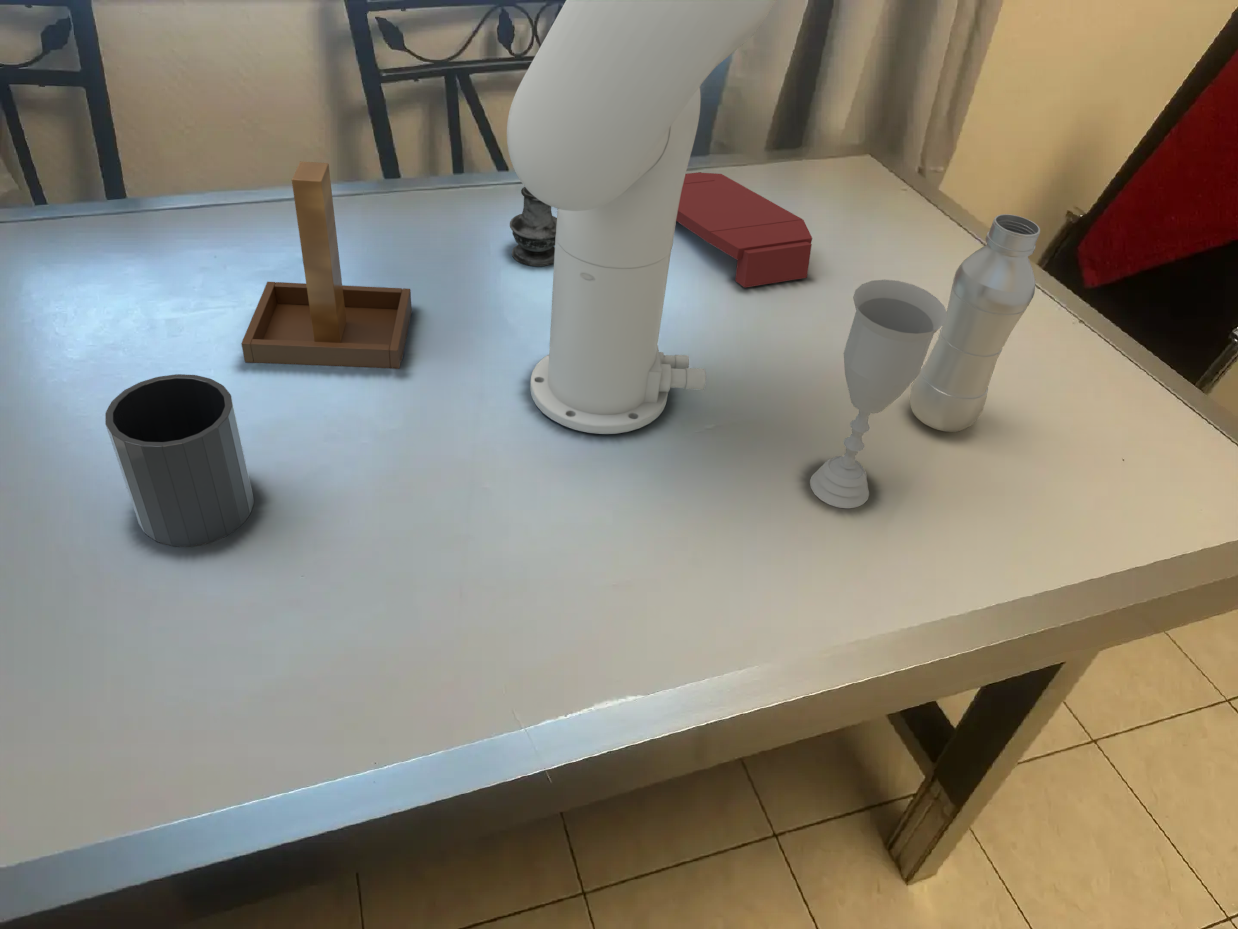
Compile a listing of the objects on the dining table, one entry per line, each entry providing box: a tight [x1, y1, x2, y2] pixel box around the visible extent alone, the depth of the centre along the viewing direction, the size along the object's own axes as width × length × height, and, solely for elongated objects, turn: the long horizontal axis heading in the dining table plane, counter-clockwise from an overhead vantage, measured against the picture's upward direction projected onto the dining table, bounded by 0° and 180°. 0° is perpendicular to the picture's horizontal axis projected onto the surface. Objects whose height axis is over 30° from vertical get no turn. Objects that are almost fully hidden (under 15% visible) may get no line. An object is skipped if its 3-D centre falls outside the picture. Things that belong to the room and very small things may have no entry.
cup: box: [104, 373, 255, 547], centre depth 69 cm, size 8×8×10 cm
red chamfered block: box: [676, 171, 813, 288], centre depth 114 cm, size 12×5×25 cm
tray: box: [240, 281, 413, 370], centre depth 90 cm, size 14×11×3 cm
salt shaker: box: [509, 186, 557, 267], centre depth 102 cm, size 6×6×12 cm
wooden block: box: [291, 160, 346, 343], centre depth 85 cm, size 2×4×16 cm, turn 4°
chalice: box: [809, 279, 947, 509], centre depth 75 cm, size 7×7×18 cm
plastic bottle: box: [908, 213, 1041, 433], centre depth 83 cm, size 6×7×20 cm
